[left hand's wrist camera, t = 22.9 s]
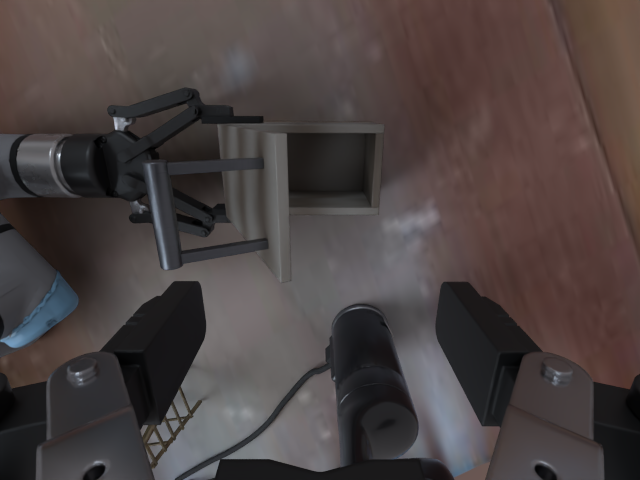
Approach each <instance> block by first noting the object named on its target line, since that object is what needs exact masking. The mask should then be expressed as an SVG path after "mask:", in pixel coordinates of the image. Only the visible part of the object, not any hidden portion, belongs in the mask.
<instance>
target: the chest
mask: <svg viewBox="0 0 640 480" xmlns="http://www.w3.org/2000/svg"><path fill="white" fill-rule="evenodd" d="M227 125H233V126H240V127H246V128H253V129H260V130H266V131H273V132H280V133H286V134H287V157H288V190H289V215H379V201H380V186H381V171H382V156H383V141H384V124H379V123H374V122H264V123H228V124H227Z"/></svg>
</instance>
